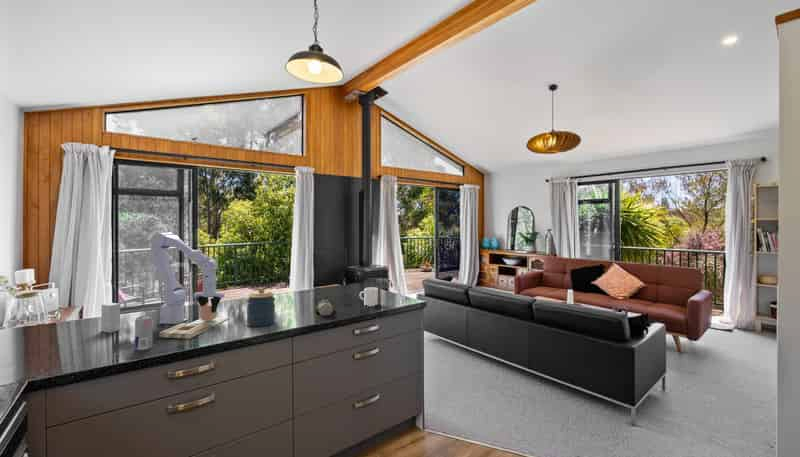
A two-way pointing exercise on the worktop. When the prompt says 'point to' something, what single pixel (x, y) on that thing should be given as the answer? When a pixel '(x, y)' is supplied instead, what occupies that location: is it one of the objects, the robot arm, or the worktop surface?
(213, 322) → the sage mat
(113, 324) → the skincare box
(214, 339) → the worktop surface
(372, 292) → the mug
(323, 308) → the ceramic sculpture
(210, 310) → the peg
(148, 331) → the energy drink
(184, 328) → the socket block
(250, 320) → the canister
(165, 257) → the robot arm
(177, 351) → the worktop surface
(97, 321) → the worktop surface
